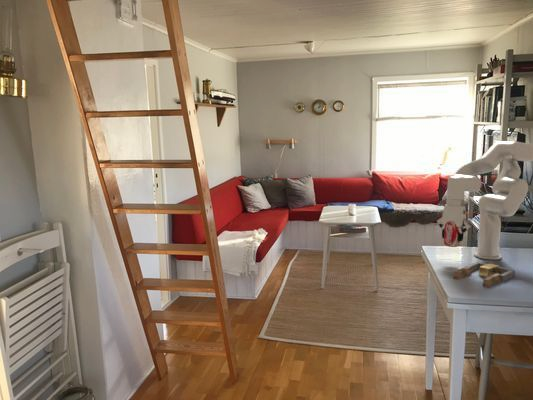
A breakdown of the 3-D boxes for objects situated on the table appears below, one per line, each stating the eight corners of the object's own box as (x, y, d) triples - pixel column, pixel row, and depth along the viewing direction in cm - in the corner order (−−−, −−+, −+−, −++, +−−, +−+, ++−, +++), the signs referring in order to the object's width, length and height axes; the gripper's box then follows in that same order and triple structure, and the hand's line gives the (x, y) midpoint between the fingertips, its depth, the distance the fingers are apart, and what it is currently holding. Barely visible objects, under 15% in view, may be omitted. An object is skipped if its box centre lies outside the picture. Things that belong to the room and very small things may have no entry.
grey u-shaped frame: (476, 266, 206) (477, 261, 206) (514, 275, 194) (514, 270, 193) (464, 272, 199) (464, 266, 199) (502, 281, 187) (503, 275, 186)
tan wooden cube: (484, 273, 197) (484, 265, 196) (492, 276, 194) (493, 267, 193) (478, 275, 195) (479, 266, 194) (487, 277, 192) (488, 269, 191)
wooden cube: (489, 272, 200) (490, 263, 199) (498, 274, 196) (499, 265, 196) (484, 273, 197) (485, 264, 197) (493, 276, 194) (494, 267, 193)
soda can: (461, 248, 207) (463, 222, 205) (445, 247, 208) (446, 222, 206) (457, 244, 214) (459, 220, 212) (442, 243, 215) (444, 219, 213)
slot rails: (467, 272, 198) (467, 266, 198) (499, 280, 187) (500, 274, 187) (453, 278, 191) (453, 271, 190) (486, 287, 180) (487, 280, 179)
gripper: (477, 204, 203) (474, 242, 206) (441, 199, 217) (439, 235, 219) (469, 205, 199) (466, 244, 201) (433, 201, 212) (431, 237, 215)
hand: (452, 239), depth 210 cm, fingers closed on soda can, 7 cm apart
